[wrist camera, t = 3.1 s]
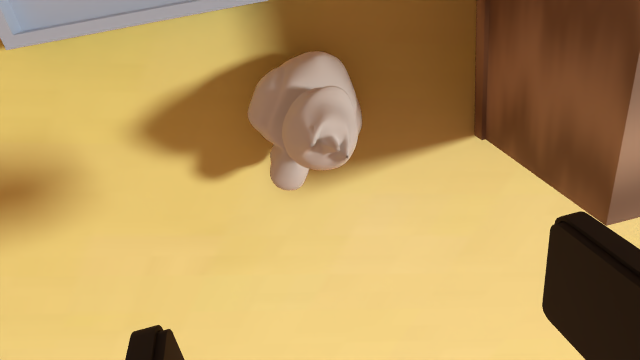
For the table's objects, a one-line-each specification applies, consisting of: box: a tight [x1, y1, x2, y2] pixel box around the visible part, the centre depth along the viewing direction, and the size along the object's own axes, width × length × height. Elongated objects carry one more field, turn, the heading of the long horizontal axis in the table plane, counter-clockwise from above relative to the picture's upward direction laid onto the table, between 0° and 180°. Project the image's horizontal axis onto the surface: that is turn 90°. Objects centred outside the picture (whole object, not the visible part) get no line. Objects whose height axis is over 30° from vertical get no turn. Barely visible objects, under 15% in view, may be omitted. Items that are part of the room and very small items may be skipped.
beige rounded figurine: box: [248, 51, 362, 190], centre depth 20 cm, size 5×7×8 cm
